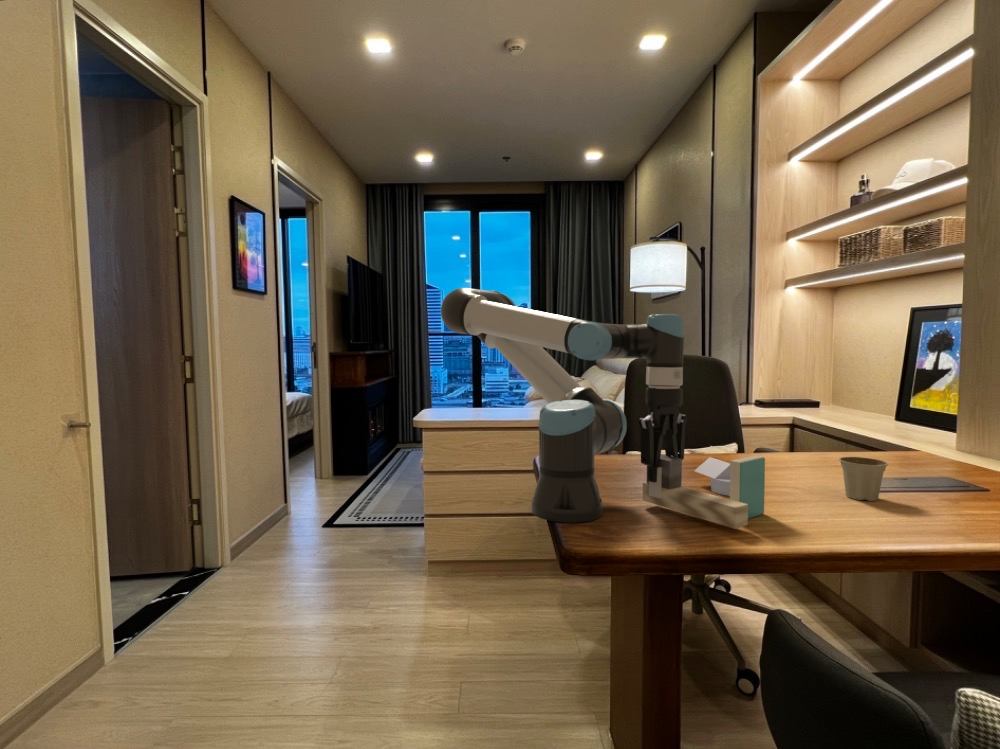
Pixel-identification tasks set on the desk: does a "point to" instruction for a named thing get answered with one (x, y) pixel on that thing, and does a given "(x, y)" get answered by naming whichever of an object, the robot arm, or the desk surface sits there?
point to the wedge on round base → (717, 475)
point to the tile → (748, 483)
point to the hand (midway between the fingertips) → (662, 494)
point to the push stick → (694, 498)
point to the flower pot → (862, 477)
